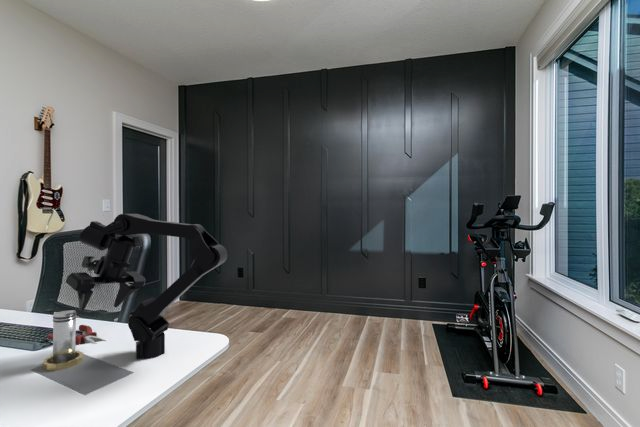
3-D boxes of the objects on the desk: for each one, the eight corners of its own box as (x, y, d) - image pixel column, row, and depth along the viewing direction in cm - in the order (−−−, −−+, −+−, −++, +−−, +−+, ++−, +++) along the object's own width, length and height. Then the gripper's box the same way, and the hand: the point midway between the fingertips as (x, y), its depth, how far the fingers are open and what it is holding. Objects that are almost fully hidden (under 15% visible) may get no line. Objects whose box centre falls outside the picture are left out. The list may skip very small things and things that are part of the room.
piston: (79, 358, 87) (80, 309, 87) (69, 366, 82) (69, 315, 82) (59, 359, 86) (60, 310, 86) (47, 368, 81) (48, 316, 81)
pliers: (81, 355, 92) (81, 346, 92) (43, 342, 101) (43, 334, 101) (121, 340, 103) (121, 332, 103) (83, 330, 111) (83, 323, 111)
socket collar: (83, 357, 90) (83, 348, 90) (81, 369, 83) (81, 359, 83) (45, 364, 85) (45, 355, 85) (40, 378, 79) (40, 367, 79)
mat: (30, 373, 81) (30, 369, 81) (79, 356, 91) (79, 352, 91) (85, 399, 70) (85, 394, 70) (134, 376, 80) (134, 372, 80)
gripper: (132, 247, 102) (116, 293, 103) (66, 244, 86) (46, 299, 86) (154, 261, 97) (136, 309, 98) (87, 260, 81) (66, 319, 81)
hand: (98, 308), depth 91 cm, fingers open, 9 cm apart
